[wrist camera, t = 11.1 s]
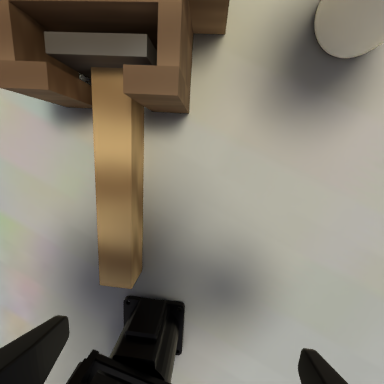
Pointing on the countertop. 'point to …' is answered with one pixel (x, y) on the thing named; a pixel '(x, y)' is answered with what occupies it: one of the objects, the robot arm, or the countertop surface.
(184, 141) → the countertop surface
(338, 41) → the white cylinder
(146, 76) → the walnut box
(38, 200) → the countertop surface
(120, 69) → the hammer
